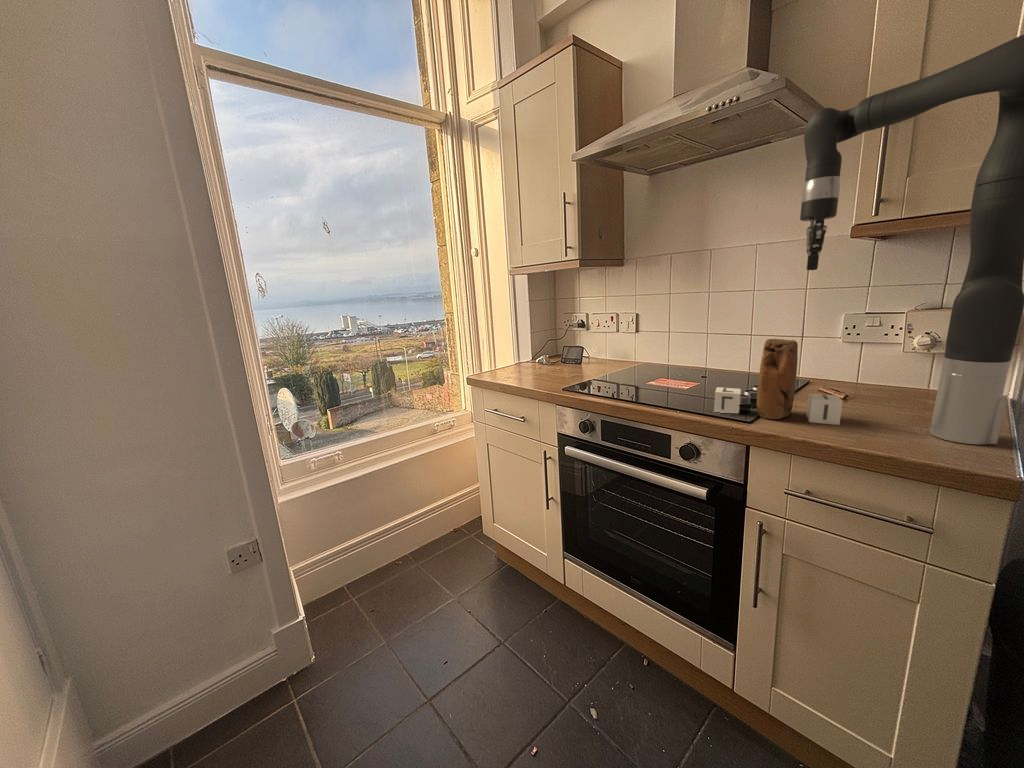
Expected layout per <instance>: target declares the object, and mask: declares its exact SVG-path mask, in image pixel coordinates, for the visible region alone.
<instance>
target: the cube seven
mask: <svg viewBox="0 0 1024 768" xmlns="http://www.w3.org/2000/svg"><path fill="white" fill-rule="evenodd" d="M741 392H742V389H741V388H737V387H736V388H733V387H731V388H730V387H721V386H720V387H719V386H718V387H716V388H715V391H714V404H713V413H714V412H720V413H739V414H740V406H739V405H740V402H741V395H742V394H741ZM720 413H719V414H720Z"/></svg>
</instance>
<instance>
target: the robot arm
mask: <svg viewBox="0 0 1024 768" xmlns="http://www.w3.org/2000/svg"><path fill="white" fill-rule="evenodd" d="M995 92H998V96H999V99H998V100H999V103H998V105H999V106H998V114H997V115H998V117H997V124H996V125H997V126H996V129H995V134H994V137H993V138H992V139H993V140H992V142H991V144H990V146H989V148H988V150H987V152H986V154H985V156H984V158H983V160H982V163H981V165H980V167H979V170H978V172H977V175H976V179H975V183H974V187H973V191H972V192H973V195H972V198H971V206H970V213H969V214H970V215H969V238H970V239H969V242H970V253H969V254H970V255H969V260H968V265H967V269H966V272H965V276H964V279H963V282H962V285H961V287H960V291H959V293H958V294H957V295H956V296H955V299H954V300H953V303H952V306H951V307H952V308H951V314H950V319H949V324H948V330H947V334H946V335H947V336H946V340H945V349H944V356H943V361H942V366H941V371H940V376H939V382H938V387H937V392H936V398H935V402H934V408H933V413H932V418H931V422H930V428H929V433H930V435H932V436H933V437H935V438H939V439H941V440H946V441H949V442H954V443H961V444H968V445H998V442H999V438H1000V433H1001V429H1002V424H1003V421H1004V417H1005V416H1004V415H1005V411H1006V408H1007V403H1008V400H1007V398H1004V397H1003V396H1004V392H1005V387H1006V383H1007V380H1008V379H1007V378H1008V374H1009V368H1010V364H1011V361H1012V358H1013V357H1012V356H1013V353H1014V350H1015V346H1016V343H1017V337H1018V332H1019V329H1020V324H1021V320H1022V317H1023V312H1024V291H1023V279H1024V278H1023V275H1024V34H1021V35H1018V36H1017V37H1014V38H1013V39H1010V40H1008V41H1006V42H1004V43H1002V44H999V45H997V46H995V47H993V48H991V49H990V50H987V51H985V52H983V53H981V54H978V55H977V56H976V55H975V57H971V58H970V59H967V60H965V61H963V62H960V63H958V64H955V65H953V66H951V67H948V68H946V69H944V70H940V71H939V72H935V73H934V74H931V75H928V76H925V77H924V78H920V79H917V80H913V81H911V82H909V83H907V84H906V83H905V84H903V85H901V86H900V85H899V86H897V87H894V88H891V89H888V90H884V91H882V92H878V93H877V94H872V95H871V96H867V97H865V98H863V99H862V100H861V101H859V103H857V105H856V106H853V107H851V108H849V109H845V110H839V109H836V108H833V107H823V108H821V109H819V110H817V111H816V112H814V113H813V114H812V115H811V116H810V118H809V119H808V121H807V123H806V126H805V129H804V135H803V136H804V137H803V139H804V141H803V143H804V151H805V159H806V168H805V178H804V179H805V180H804V185H803V190H802V196H801V204H800V213H799V214H800V216H799V219H800V221H802V222H810V225H809V226H808V227H806V230H805V235H806V243H805V246H806V255H807V262H806V270H807V271H816V270H818V268H819V267H818V266H819V259H820V255H821V252H822V250H823V245H824V243H825V239H826V238H825V236H826V233H827V231H828V230H827V228H828V225H825V220H829V219H832V218H835V217H836V216H837V212H838V205H839V196H840V191H841V190H840V188H841V183H840V181H841V180H840V179H841V178H840V177H841V169H842V163H843V161H842V153H840V151H839V150H838V147H837V145H838V143H839V144H840V143H842V142H845V141H847V140H850V139H852V138H855V137H857V136H860V135H861V134H863V133H865V132H869V131H874V130H877V129H881V128H884V127H888V126H892V125H895V124H899V123H902V122H904V121H907V120H909V119H912V118H914V117H917V116H919V115H921V114H924V113H926V112H928V111H930V110H932V109H935V108H937V107H940V106H941V105H944V104H948V103H950V102H954V101H956V100H959V99H963V98H968V97H973V96H977V95H978V96H979V95H983V94H988V93H989V94H990V93H995Z"/></svg>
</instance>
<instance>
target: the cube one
mask: <svg viewBox="0 0 1024 768" xmlns="http://www.w3.org/2000/svg"><path fill="white" fill-rule="evenodd" d="M843 402H844V401H843V400H842V399H841V397H840V396H839V395H838V394H837V395H836V394H822V393H808V400H807V409H806V417H807V419H808V422H809V423H815V424H816V423H817V424H825V425H826V424H828V425H838V426H839V425H840V423H841V417H842V408H843Z"/></svg>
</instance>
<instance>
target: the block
mask: <svg viewBox="0 0 1024 768" xmlns="http://www.w3.org/2000/svg"><path fill="white" fill-rule="evenodd" d="M798 344H799V343H798V342H797V340H795V339H790V340H788V339H781V338H769V339H766V340H765V342H764V344H763V345H764V346H763V350H762V355H761V361H760V367H759V374H758V383H757V395H756V410H757V413H758V415H759V417H762V418H764V419H769V420H780V419H783V418H787V417H788V416H790V414H791V413H792V410H793V406H794V405H793V404H794V400H795V391H796V386H797V385H796V382H797V374H798V363H799V362H798V358H799V357H798V351H799V349H798V347H799V345H798Z"/></svg>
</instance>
